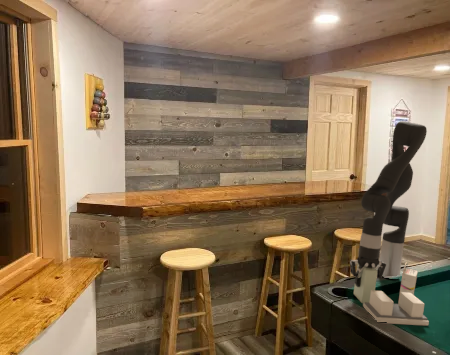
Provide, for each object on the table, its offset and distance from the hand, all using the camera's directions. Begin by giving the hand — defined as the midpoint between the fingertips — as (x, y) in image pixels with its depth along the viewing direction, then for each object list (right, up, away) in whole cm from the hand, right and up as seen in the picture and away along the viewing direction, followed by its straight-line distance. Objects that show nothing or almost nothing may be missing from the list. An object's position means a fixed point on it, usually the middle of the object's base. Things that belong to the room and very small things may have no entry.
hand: (364, 286), depth 145 cm
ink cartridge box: (+18, -6, +2) cm, 19 cm away
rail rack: (+6, -7, -12) cm, 15 cm away
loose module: (0, -5, +1) cm, 5 cm away
